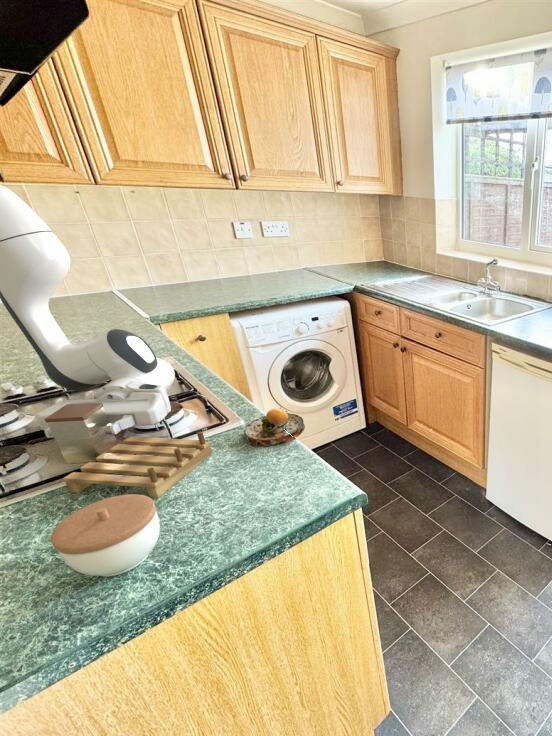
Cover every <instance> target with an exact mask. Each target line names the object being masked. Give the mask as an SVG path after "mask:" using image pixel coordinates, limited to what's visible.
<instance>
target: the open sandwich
mask: <svg viewBox="0 0 552 736" xmlns="http://www.w3.org/2000/svg"><path fill="white" fill-rule="evenodd" d="M304 422H305V421H304V418H303V417H302V416H300V415H298V414H295V413H289V412H288V410H286V411H285V410H284V409H282V406H280V407H279V408H271V409H270V410H269V411H267V412H266V415H265V416H261V417H259V418H256V419H255V420H254V419H253V421H251V422H250V423H248V424H247V426H246V428H245V429H244V431H243V432H244V433H243V436H244V437H245V438H246V439H247V441H248V443H249V446H254V447H258V442H259V443H260V444H261V445H263V446H265V447H270V446H275V445H277V444H280V443H282V442H285V443H288V442H290V441H293V440H294V438H298V437H299V436H301V435H302V434H303V432H304V431H305V428H306V425H305V423H304ZM284 429H285V430H286V431H287V432H288V433H290V434H291V435H292V436H293V437H294V438H293V437H292V436H291V435H290V434H288V433H287V432H286V431H285V430H284Z"/></svg>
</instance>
